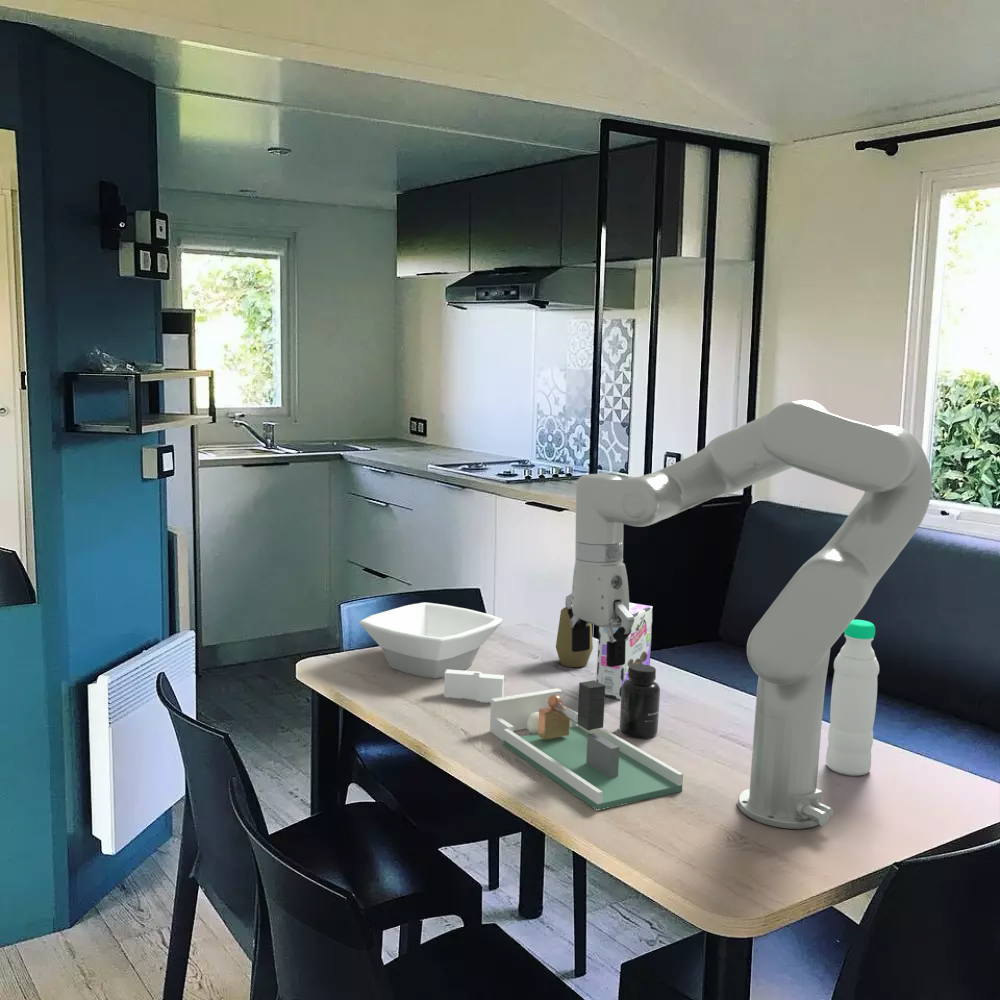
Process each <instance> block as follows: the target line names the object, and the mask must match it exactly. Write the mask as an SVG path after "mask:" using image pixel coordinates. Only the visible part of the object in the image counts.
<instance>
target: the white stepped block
mask: <svg viewBox="0 0 1000 1000" xmlns="http://www.w3.org/2000/svg"><path fill="white" fill-rule="evenodd" d="M443 684H444V687H443V688H444V690H443V691H444V692H443V697H444V698H449V697H452V698H451V699H462V698H468V699H467V700H474V701H475V702H478V701H480V702H479V703H488V702H491V699H493V698H500V697H505V695H504V692H505V675H504V674H492V673H491V674H489V673H483V672H482V671H477V670H476V671H473V670H449V669H447V670H446V672H445V677H444V683H443ZM475 699H476V700H475Z"/></svg>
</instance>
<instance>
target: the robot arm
mask: <svg viewBox="0 0 1000 1000" xmlns="http://www.w3.org/2000/svg"><path fill="white" fill-rule="evenodd" d="M929 463H930V462H929V460H928V458H927V455H926V453H925V451H924V449H923V447H922V445H921V444H920V443H919V441H918V440H917V439H916V438H915V436H914V435H913V434H911V433H910V432H909V431H907V429H905V428H903V427H901V426H896V425H891V424H883V425H877V426H872V425H870V424H866V423H863V422H860V421H856V420H852V419H849V418H846V417H842V416H839V415H837V414H833V413H831V412H829V411H828V410H827V409H826V408H825V407H824V406H823V405H822V404H820V403H818V402H816V401H814V400H809V399H799V400H792V401H787V402H784V403H782V404H779V405H777V406H776V407H774V408H773V409H772V410H771V411H770V412H769V413H766V414H764V415H763V416H761V417H758V418H756V419H753V420H751V421H749V422H747V423H745V424H743V425H741V426H738V427H736V428H734V429H732V430H729V431H727V432H725V433H722V434H720V435H719V436H716V437H714V438H713V439H712V440H711V441H709V442H708V444H707V445H706V446H705V447H704V448H702V449H700V450H699V451H698V452H696V453H694V454H692V455H689V456H688V457H686V458H684V459H681V460H680V461H677V462H675V463H673V464H671V465H668V466H666V467H664V468H661V469H659V470H657V471H654V472H651V473H648V474H643V475H640V476H635V477H631V478H621V477H620V476H618V475H616V474H609V473H589V474H584V475H581V476H579V478H578V479H577V482H576V485H575V486H576V487H575V549H574V551H575V553H574V554H575V556H574V558H575V561H574V565H573V566H574V568H573V575H572V585H571V586H572V587H571V593H570V594H568V595H567V596H565V603H567V607H568V615H569V617H570V619H571V620H570V626H571V627H574V628H572V651H574V652H579V651H585V650H589V649H590V626H586V625H587V624H588V622H589V623H591V624H592V625H595V626H597V627H599V626H600V627H603V628H605V630H606V632H607V635H608V637H609V640H610V641H607V666H609V667H614V666H620V665H624V664H625V646H626V640H628V636H629V634H630V633H631V628H632V626H633V623H634V617H633V616H632V615H631V613H630V612H629V603H630V594H629V593H630V590H629V581H628V580H629V579H628V574H627V568H626V564H625V563H624V525H627V526H631V527H638V528H639V527H641V528H642V527H647V526H648V527H649V526H650V525H654V524H657V523H658V522H661V521H663V520H665V519H669V518H671V517H672V516H676V515H678V514H680V513H682V512H684V511H686V510H688V509H691V508H693V507H696V506H698V505H700V504H702V503H704V502H707V501H709V500H712V499H714V498H717V497H720V496H723V495H726V494H732V493H736V492H738V491H740V490H743V489H745V488H748V487H750V486H751V485H754V484H757V483H759V482H762V481H763V480H767V479H768V478H771V477H773V476H775V475H778V474H780V473H783V472H785V471H787V470H789V469H792V468H795V469H798V470H800V471H802V472H806V473H808V474H811V475H813V476H817V477H821V478H823V479H826V480H829V481H832V482H835V483H838V484H839V485H840V484H842V485H844V486H846V487H849V488H852V489H856V490H860V491H863V492H864V494H863V495H862V497H861V499H860V500H859V501H858V503H857V504H856V505H855V507H854V508H853V509H852V511H851V512H850V513H849V514H848V515H847V517H846V518H845V520H844V522H843V523H842V525H841V526H840V527H839V529H837V531H836V532H835V533H834V535H833V536H832V537H831V538H830V539H829V541H828V542H827V543H826V544H825V545H824V546H823V547H822V549H821V550H819V551H817V553H815V554H814V555H813V556H812V557H810V558H809V559H808V560H807V561H805V562H804V563H803V564H802V566H801V567H799V568H798V570H797V571H796V572H795V573H794V575H793V576H792V578H791V579H790V580H789V581H788V583H787V584H786V585H785V586H784V588H783V589H782V590H781V592H780V593H779V595H778V596H777V597H776V598H775V600H773V602H772V603H771V605H770V606H769V607H768V609H767V610H766V611H765V613H764V614H763V616H762V617H761V618H760V619H759V620H758V622H757V623H756V624H755V626H754V627H753V628H752V629H751V632H750V634H749V636H748V639H747V643H746V655H747V660H748V662H749V665H750V666H751V669H752V670H753V672H754V673H755V674H756V675H757V676H758V678H757V679H758V680H757V685H756V699H755V711H754V722H753V723H754V725H753V738H752V750H751V751H752V753H751V769H750V782H749V783H750V784H749V788H747V789H745V790H743V791H742V792H741V793H739V795H738V799H737V805H738V808H739V810H740V811H741V812H742V814H744V815H745V816H747V817H748V818H749V819H752V820H754V821H756V822H758V823H761V824H764V825H767V826H772V827H775V828H780V829H781V828H783V829H791V830H792V829H793V830H801V829H809V828H812V827H815V826H818V825H820V826H822V827H823V826H825V825H826V824H827V823H828V821H829V819H830V818H831V817H832V816H833V814H834V809H833V808H832V807H830V805H829V806H828V805H827V804H823V802H822V795H823V791H822V790H820V789H819V788H817V785H818V770H819V761H820V749H821V747H820V746H821V738H822V737H821V736H822V735H821V734H822V723H823V722H822V721H823V714H824V713H823V712H824V704H825V703H824V702H825V693H826V692H825V691H826V683H827V675H828V667H829V663H830V656H831V655H830V654H831V648H832V647H833V646H834V644H835V643H836V642H837V641H838V640H839V638H840V637H841V636H842V634H843V633H844V631H845V629H846V628H847V627H848V626H849V624H850V623H851V622H852V621H853V620H855V619H856V617H857V616H858V614H859V613H860V611H862V609H863V607H864V606H865V605H866V603H867V602H868V600H869V599H870V597H871V594H872V593H873V590H874V588H875V587H876V585H877V584H878V583H879V582H880V580H881V578H883V576H884V575H885V574H886V572H887V571H888V569H889V568H890V567H891V565H892V564H893V563H894V562H895V561H896V559H897V558H898V557H899V555H900V553H901V552H902V551H903V550H904V548H905V547H906V546H907V544H908V543H909V542H910V540H911V539H912V538H913V536H914V535H915V533H916V532H917V531H918V529H919V527H920V526H921V524H922V522H923V520H924V518H925V516H926V513H927V511H928V509H929V505H930V502H931V497H932V486H933V482H932V480H933V477H932V472H931V471H932V470H931V467H930V464H929ZM609 621H613V622H609ZM615 627H617V629H618V630H617V631H616V632H615V633H614V630H613V628H615Z"/></svg>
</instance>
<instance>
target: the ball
mask: <svg viewBox="0 0 1000 1000" xmlns="http://www.w3.org/2000/svg"><path fill="white" fill-rule="evenodd" d="M538 724H539V712H535V713H532V714H531V715H530V716H529V717H528V719H527V730H528V731H529V732H530V733H531V734H536V733H538Z"/></svg>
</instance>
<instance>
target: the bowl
mask: <svg viewBox="0 0 1000 1000" xmlns="http://www.w3.org/2000/svg"><path fill="white" fill-rule="evenodd" d="M503 622H504V619H503V618H501V617H499V616H498V617H497V616H496V615H492V614H489V613H485V612H481V611H478V610H474V609H469V608H464V607H460V606H459V607H458V606H454V605H448V604H440V603H433V602H419V603H412V604H408V605H403V606H400V607H397V608H396V607H395V608H392V609H389V610H385V611H381V612H378V613H375V614H371V615H369V616H368V617H365V618H363V619H361V620H360V621H359V625H360V626H361V627H362V628H363V629H364V630H365V632H366V633H368V634H369V636H370V637H371V638H372V639H373V640H374V641H375V642H376V643H377V645H378V646H379V647H380V648H381V649H382V652H383V654H384V656H385V658H386V661H387V663H388V666H389V667H390V668H392V669H394V670H397V671H399V672H402V673H406V674H409V675H413V676H418V677H421V678H422V677H423V678H426V679H427V678H428V679H434V680H435V679H441V678H445V672H446V670H447V669H449V670H463V671H465V670H467V669H468V668H469V667H471V666H472V665H473V662H474V661H475V658H476V656H477V654H478V652H479V650H480V648H481V646H483V645H484V644H485V642H487V640H488V639H490V637H491V635H492V634H493V633H494V632H495V631H496V630H497V629H498V628H499V626H501V624H503Z"/></svg>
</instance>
